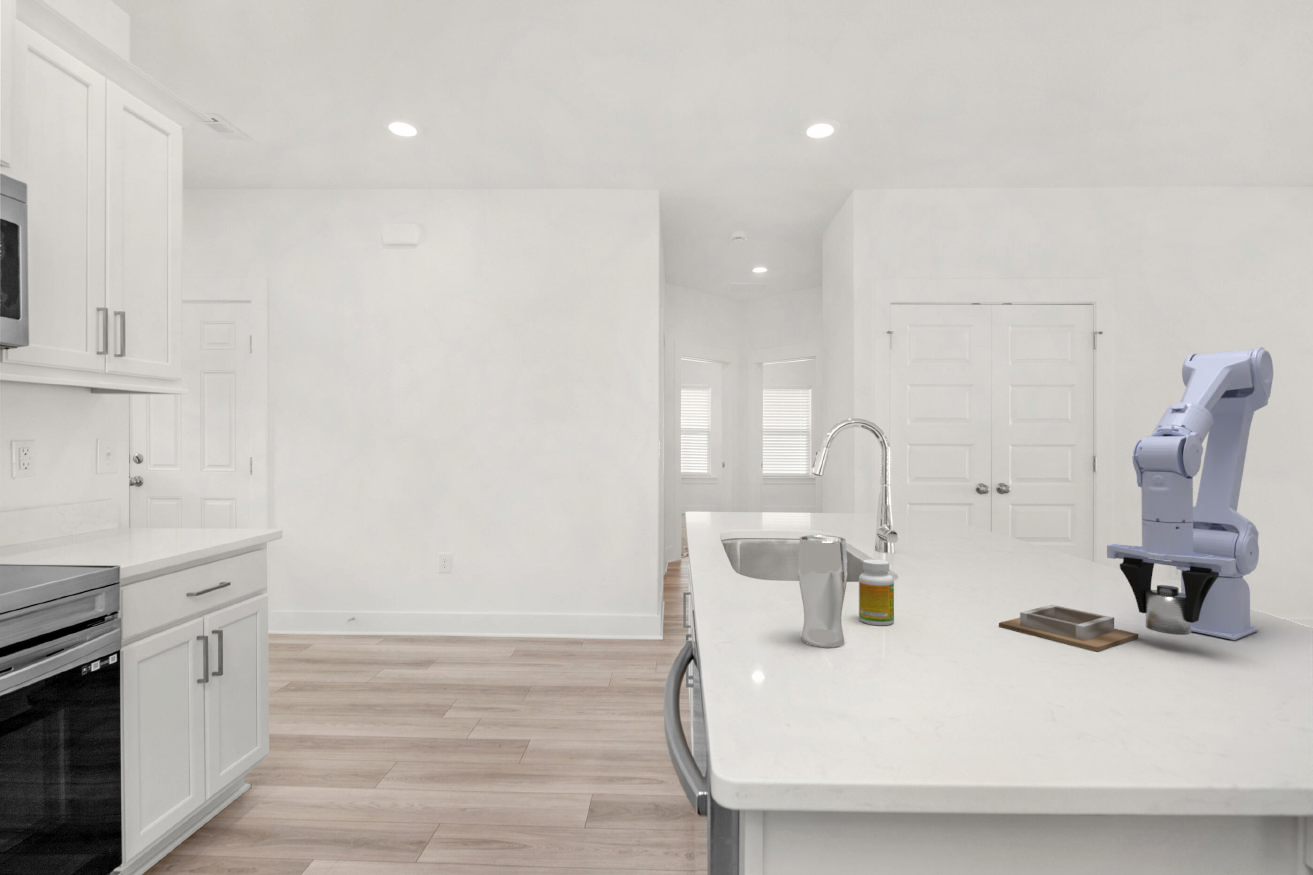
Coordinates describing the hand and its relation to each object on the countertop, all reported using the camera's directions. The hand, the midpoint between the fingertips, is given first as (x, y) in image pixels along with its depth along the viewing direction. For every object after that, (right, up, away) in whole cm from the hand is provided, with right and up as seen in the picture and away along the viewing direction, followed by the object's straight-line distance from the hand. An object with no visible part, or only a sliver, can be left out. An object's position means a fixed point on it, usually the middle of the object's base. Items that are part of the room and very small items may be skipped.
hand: (1167, 616), depth 91 cm
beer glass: (-48, -5, +3) cm, 49 cm away
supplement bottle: (-37, -5, +13) cm, 39 cm away
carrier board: (-10, -4, +7) cm, 13 cm away
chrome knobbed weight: (0, -2, 0) cm, 2 cm away
